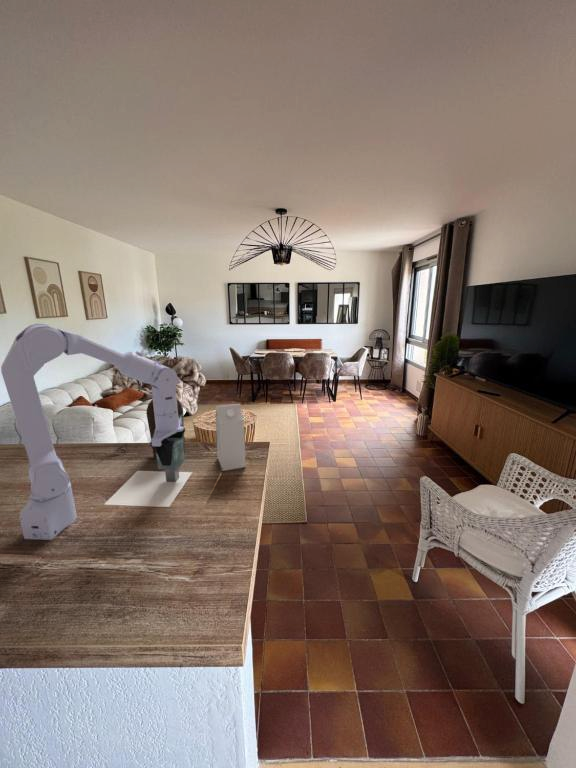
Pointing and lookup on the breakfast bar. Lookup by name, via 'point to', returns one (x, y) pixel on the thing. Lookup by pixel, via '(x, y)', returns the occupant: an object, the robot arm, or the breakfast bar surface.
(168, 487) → the base board
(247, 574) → the breakfast bar surface
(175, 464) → the teal brushed cube
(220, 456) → the milk carton
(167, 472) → the metal post
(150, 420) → the olive oil
